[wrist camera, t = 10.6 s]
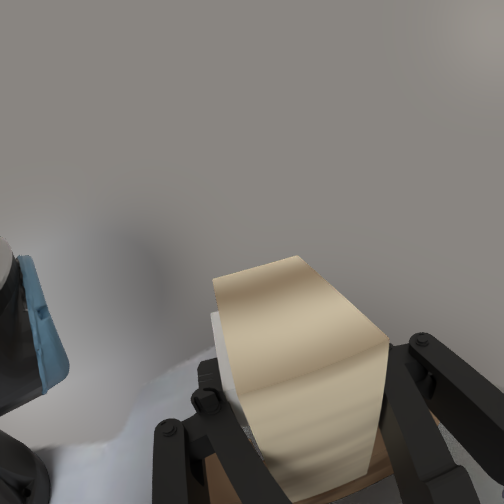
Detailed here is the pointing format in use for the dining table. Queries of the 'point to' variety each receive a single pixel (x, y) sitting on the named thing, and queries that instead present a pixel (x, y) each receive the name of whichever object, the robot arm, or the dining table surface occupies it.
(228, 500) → the notched walnut board
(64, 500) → the dining table surface
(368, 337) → the beige wooden block
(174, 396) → the dining table surface
